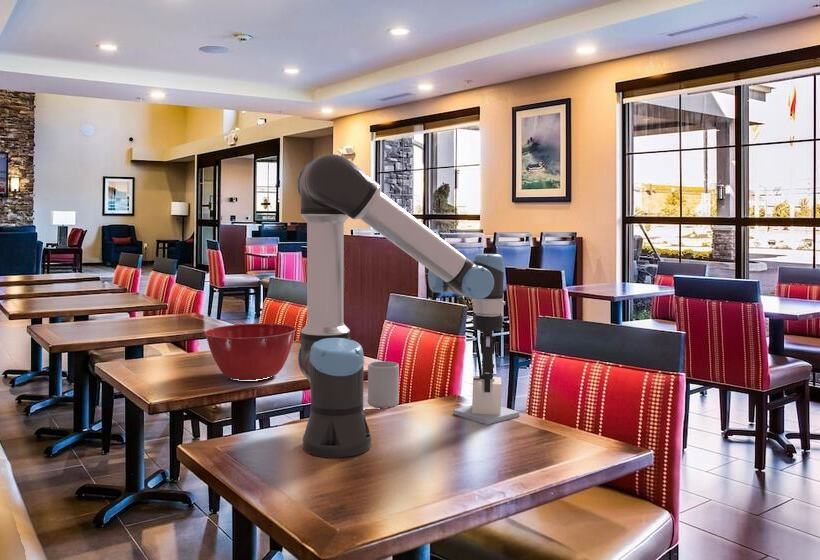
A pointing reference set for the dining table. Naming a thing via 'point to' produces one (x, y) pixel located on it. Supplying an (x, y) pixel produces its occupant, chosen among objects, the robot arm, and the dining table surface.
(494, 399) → the cube with square hole
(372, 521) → the dining table surface
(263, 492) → the dining table surface
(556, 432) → the dining table surface
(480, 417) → the plate
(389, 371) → the mug
